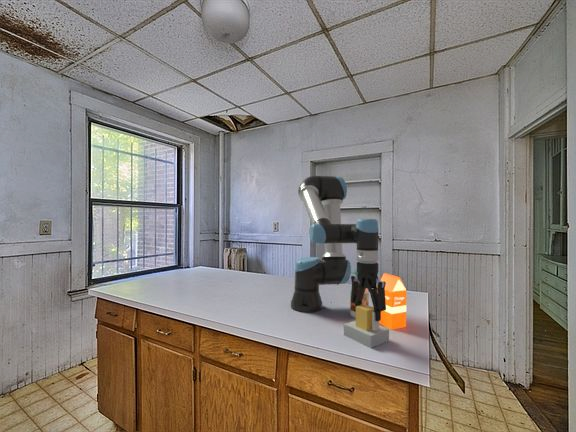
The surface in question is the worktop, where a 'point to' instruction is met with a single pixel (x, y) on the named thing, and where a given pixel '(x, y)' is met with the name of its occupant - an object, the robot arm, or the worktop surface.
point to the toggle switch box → (366, 334)
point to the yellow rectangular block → (364, 317)
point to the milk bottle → (364, 300)
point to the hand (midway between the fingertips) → (367, 326)
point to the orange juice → (394, 303)
